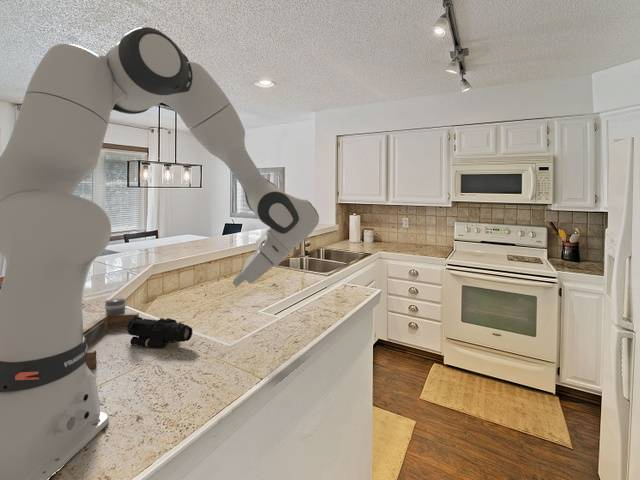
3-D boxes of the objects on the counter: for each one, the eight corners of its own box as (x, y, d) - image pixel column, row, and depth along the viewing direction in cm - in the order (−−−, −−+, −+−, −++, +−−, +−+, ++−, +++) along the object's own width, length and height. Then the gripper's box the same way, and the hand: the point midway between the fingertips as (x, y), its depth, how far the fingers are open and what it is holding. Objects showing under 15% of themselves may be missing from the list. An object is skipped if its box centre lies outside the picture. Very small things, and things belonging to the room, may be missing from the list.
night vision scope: (190, 356, 86) (169, 345, 78) (133, 348, 90) (108, 336, 82) (201, 327, 90) (182, 313, 82) (146, 321, 94) (124, 307, 86)
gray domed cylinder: (121, 325, 99) (121, 303, 98) (102, 325, 98) (101, 303, 98) (128, 319, 104) (128, 298, 104) (110, 319, 104) (109, 298, 103)
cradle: (94, 369, 73) (93, 352, 73) (47, 371, 72) (46, 354, 71) (138, 326, 99) (138, 313, 99) (105, 327, 97) (105, 314, 97)
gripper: (263, 236, 99) (230, 268, 99) (263, 245, 79) (221, 284, 79) (278, 251, 101) (245, 282, 100) (281, 263, 81) (240, 302, 80)
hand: (234, 283), depth 89 cm, fingers closed
